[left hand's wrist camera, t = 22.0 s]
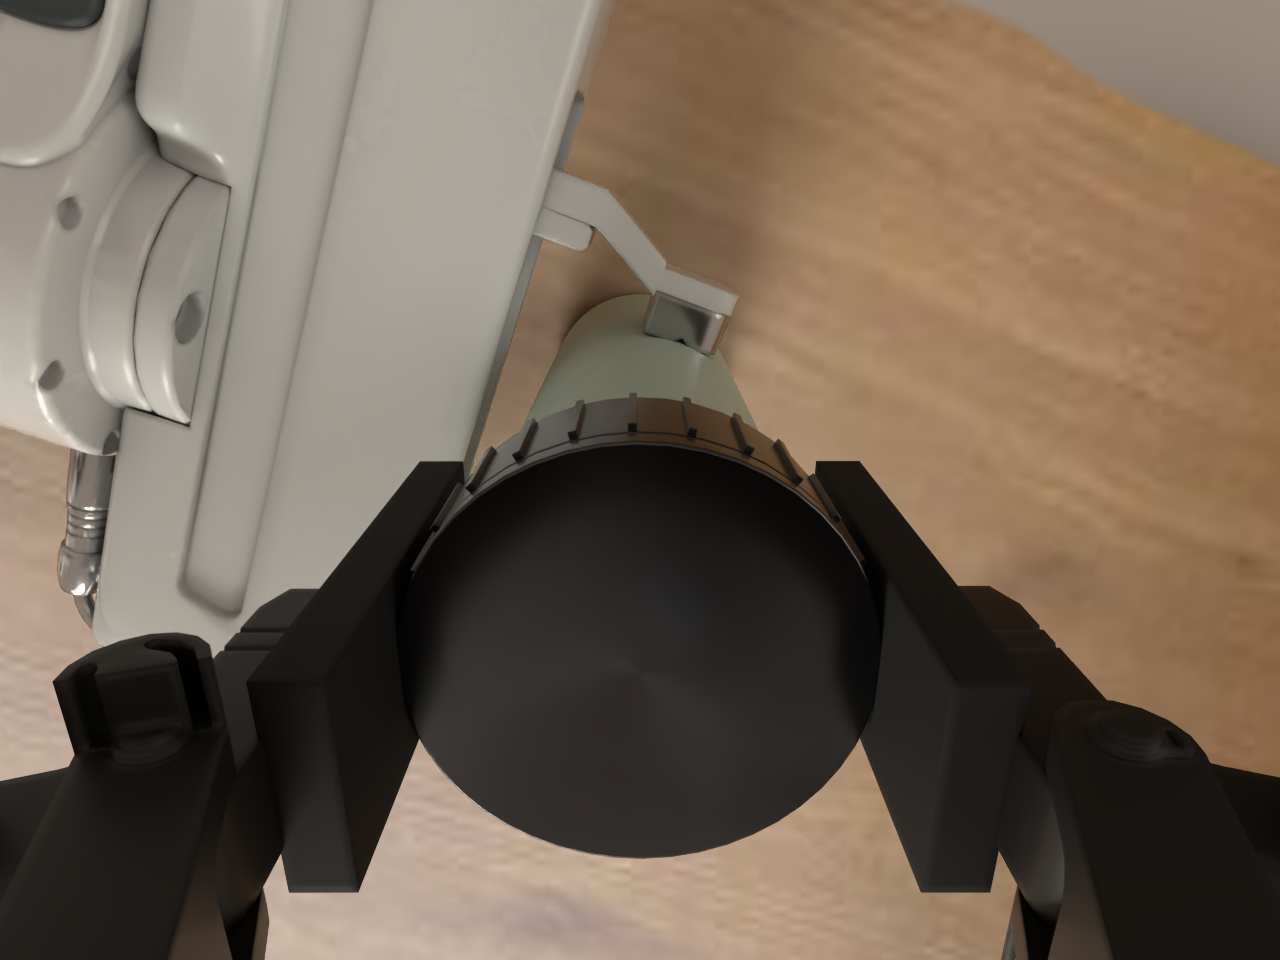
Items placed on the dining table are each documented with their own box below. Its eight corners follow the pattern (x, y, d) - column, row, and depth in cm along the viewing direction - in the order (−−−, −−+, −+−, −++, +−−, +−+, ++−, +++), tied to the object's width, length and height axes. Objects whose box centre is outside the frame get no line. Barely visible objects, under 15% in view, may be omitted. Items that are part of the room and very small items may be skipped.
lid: (380, 692, 13) (334, 784, 11) (507, 321, 11) (476, 351, 9) (742, 809, 14) (759, 913, 12) (924, 484, 11) (983, 546, 10)
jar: (587, 477, 27) (527, 822, 12) (531, 324, 25) (384, 517, 10) (742, 430, 26) (868, 734, 12) (696, 270, 24) (778, 396, 10)
